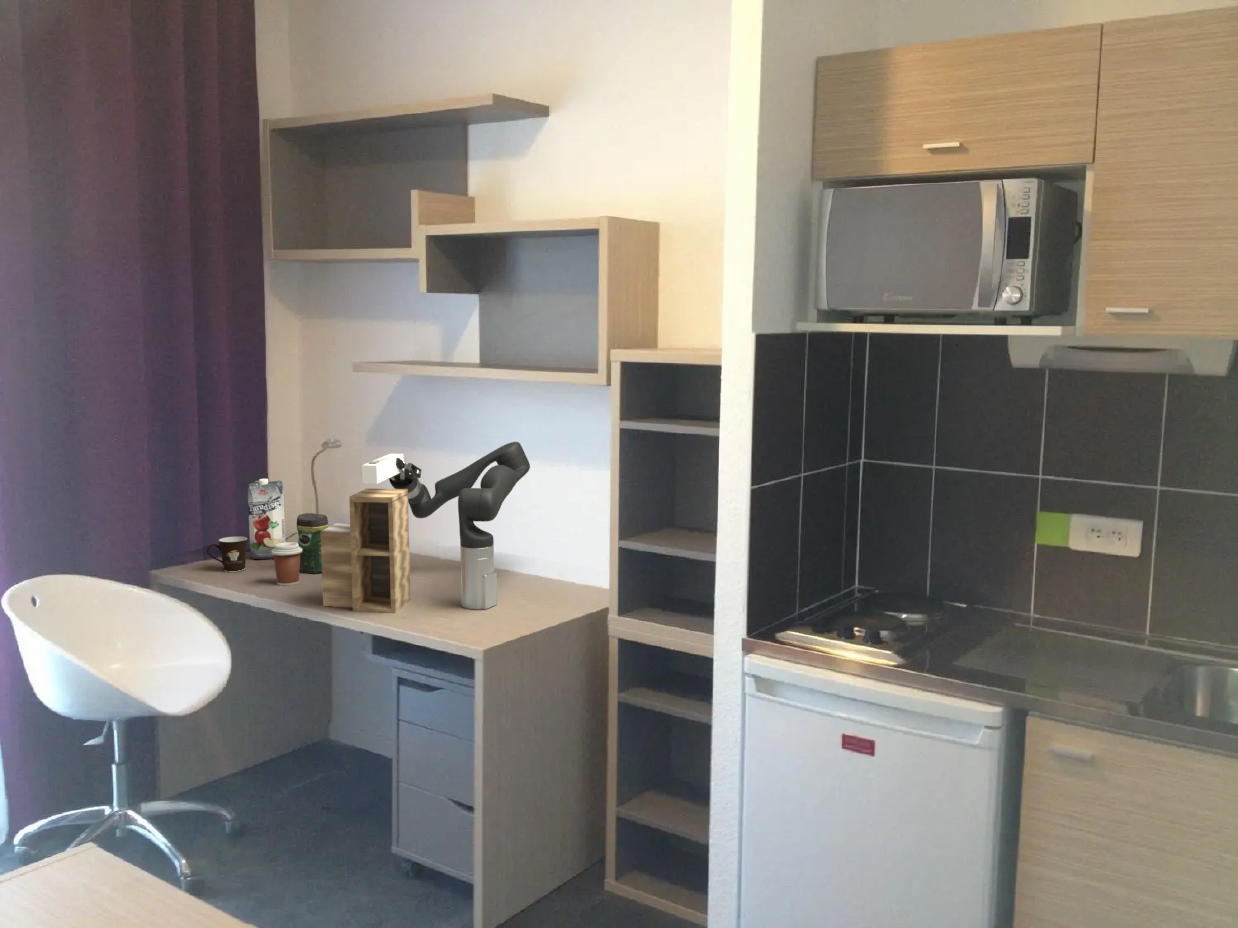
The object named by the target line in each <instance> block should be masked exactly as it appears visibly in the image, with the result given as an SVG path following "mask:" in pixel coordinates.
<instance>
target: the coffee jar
mask: <svg viewBox="0 0 1238 928" xmlns="http://www.w3.org/2000/svg"><path fill="white" fill-rule="evenodd" d="M328 527H329V520H328V516H327V515H326V514H322V513H321V514H319V513H314V512H306V513H300V514H298V516H297V518H296V530H297V534H298V536H297V537H298V544H299V547H300V548H302V553H300V568H299V572H301V573H302V572H303V573H309V574H317V573H322V556H321V532H322V530H324V529H326V528H328Z"/></svg>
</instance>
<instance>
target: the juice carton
mask: <svg viewBox="0 0 1238 928" xmlns="http://www.w3.org/2000/svg"><path fill="white" fill-rule="evenodd" d="M283 485H284V484H283V481H282V480H271V481H269V479H268V478H260V479H258V480H254V481H253V482H250V483H249V484H248V485H247V506H248V508H247V509H248V525H249V526H248V527H249V532H248V533H249V548H250V553H251V557H252V560H254V559H274V555H273V554H271V551H272V550H273V549H274V548H275V544H278V543H284V542H286V524H285V522H286V521H285V498H284V497H285V495H284V489H283V488H284V486H283Z"/></svg>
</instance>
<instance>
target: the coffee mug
mask: <svg viewBox="0 0 1238 928" xmlns="http://www.w3.org/2000/svg"><path fill="white" fill-rule="evenodd" d="M218 543H219V545H218V544H215V543H212V544H209V545H208V546H207V547H206V553H207V554H208V555H207V556H209V557H211V558H212V559H213V560H216V561H218V562H219V563H221V564H222V567H223V571H224V570H226V571H238V570H242V569H244V568H245V569H246V561H247V549H248V548H247V546H248V538H247V537H245V536H228V537H222V538H219V539H218ZM211 547H216V548H217V549H218V550H219V552H220V556H221V559H220V558H217V557H215V556H213V555H212V554H211V553H210V552H209V549H210V548H211Z"/></svg>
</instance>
